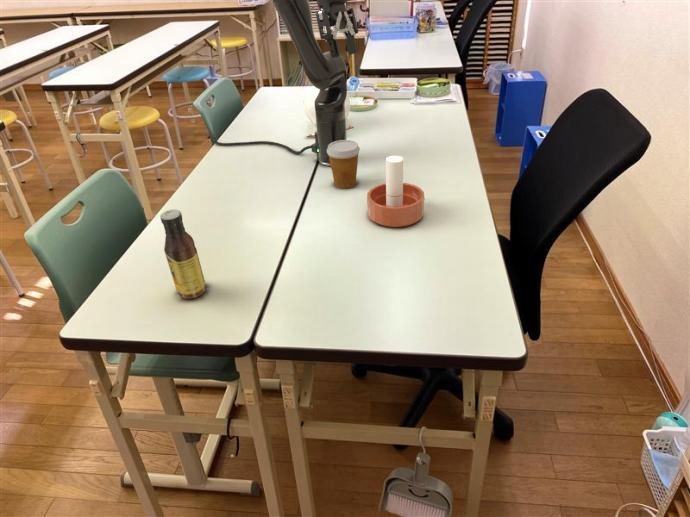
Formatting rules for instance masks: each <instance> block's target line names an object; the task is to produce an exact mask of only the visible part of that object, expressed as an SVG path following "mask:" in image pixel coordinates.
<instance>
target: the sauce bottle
mask: <svg viewBox="0 0 690 517" xmlns="http://www.w3.org/2000/svg"><path fill="white" fill-rule="evenodd" d="M159 216H160V222H161V224H162V225H163V228H164V233H165V237H164V238H165V240H164V246H163V247H164V248H163V252H164V254H165V258H166V261H167V264H168V267H169V271H170V275H171V277H172V280H173V284H174V287H175V290H176V292H177V294H178V295H179V297H181V298H182V299H187V300H190V299H195V298H198V297H200V296H202V295H203V294H204V292H205V291H206V281H205V276H204V273H203V272H204V271H203V269H202V265H201V261H200V257H199V253H198V251H197V247H196V244H195V240H194V238H193V236H192V235H190V234H189V233H188V232H187V231H186V228H185V225H184V222H183V215H182V211H181V210H179V209H176V208H175V209H174V208H173V209H167V210H165V211H163V212H162V213H161V214H160V215H159Z"/></svg>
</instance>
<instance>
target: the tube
mask: <svg viewBox="0 0 690 517" xmlns="http://www.w3.org/2000/svg"><path fill="white" fill-rule="evenodd" d="M385 183H386V206H389V207H402V206H403V183H404V156H403V157H402V156H401V155H389V156H387V157H386V158H385Z"/></svg>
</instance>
